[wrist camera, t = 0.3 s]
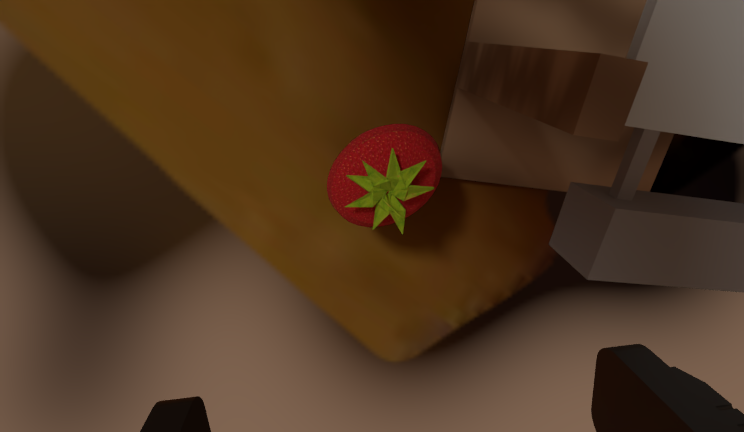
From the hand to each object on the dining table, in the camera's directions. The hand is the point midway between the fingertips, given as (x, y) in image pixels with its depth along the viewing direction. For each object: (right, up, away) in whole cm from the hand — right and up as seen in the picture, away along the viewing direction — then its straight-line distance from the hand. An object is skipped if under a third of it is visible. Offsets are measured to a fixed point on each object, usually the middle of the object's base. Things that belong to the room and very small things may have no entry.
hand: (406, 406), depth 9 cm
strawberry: (-1, +9, +23) cm, 25 cm away
